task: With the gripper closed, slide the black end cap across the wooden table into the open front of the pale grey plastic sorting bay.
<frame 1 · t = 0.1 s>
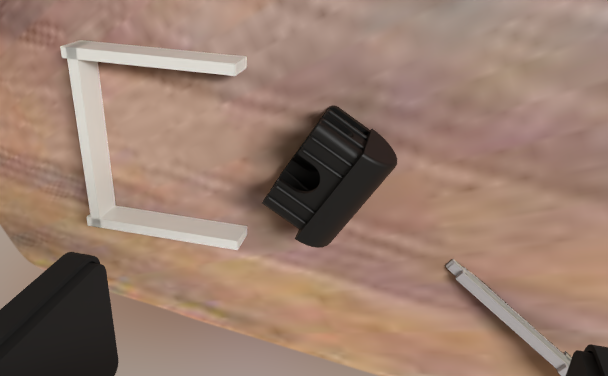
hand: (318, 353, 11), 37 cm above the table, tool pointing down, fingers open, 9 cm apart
sorting bay: (172, 142, 52), on the table
caliper: (530, 321, 52), on the table
end cap: (336, 162, 49), on the table
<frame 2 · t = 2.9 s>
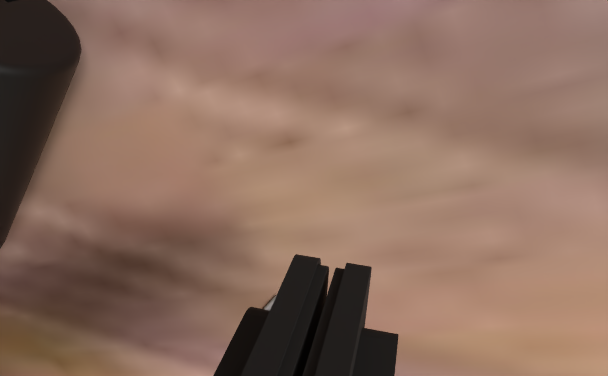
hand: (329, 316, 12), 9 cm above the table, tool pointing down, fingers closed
end cap: (11, 89, 22), on the table
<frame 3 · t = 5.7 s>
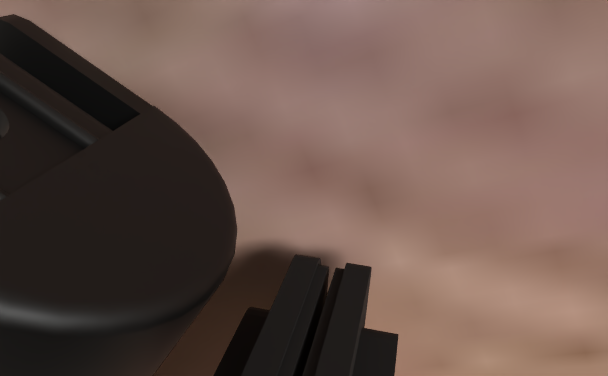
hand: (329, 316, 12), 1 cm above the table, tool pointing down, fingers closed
end cap: (81, 230, 14), on the table, touching gripper
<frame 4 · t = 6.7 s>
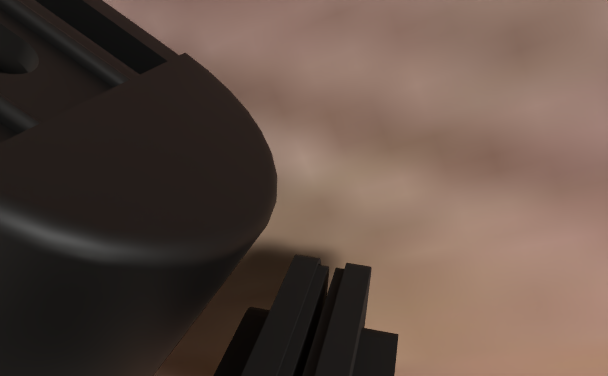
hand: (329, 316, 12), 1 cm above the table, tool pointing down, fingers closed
end cap: (101, 194, 14), on the table, touching gripper
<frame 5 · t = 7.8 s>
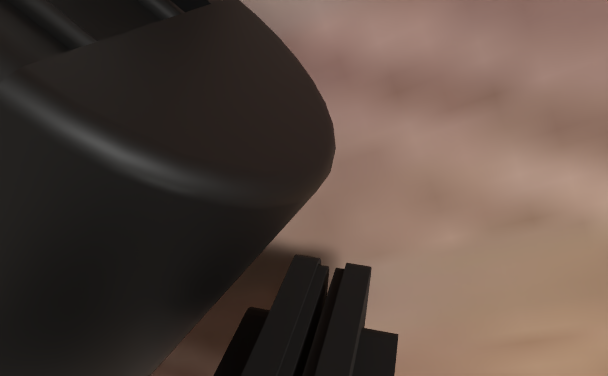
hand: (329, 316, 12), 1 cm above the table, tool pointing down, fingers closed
end cap: (125, 150, 13), on the table, touching gripper, sorting bay
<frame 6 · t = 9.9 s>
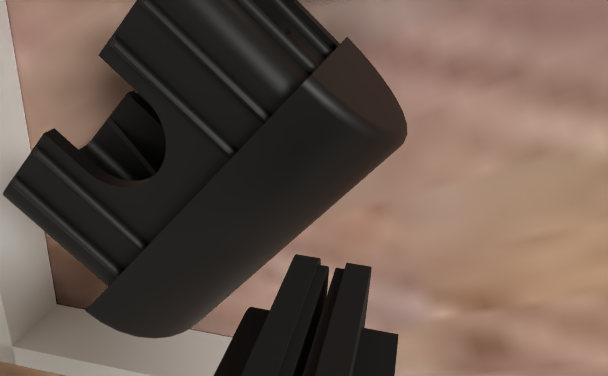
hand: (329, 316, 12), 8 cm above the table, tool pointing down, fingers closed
sorting bay: (191, 164, 21), on the table
end cap: (247, 122, 20), on the table
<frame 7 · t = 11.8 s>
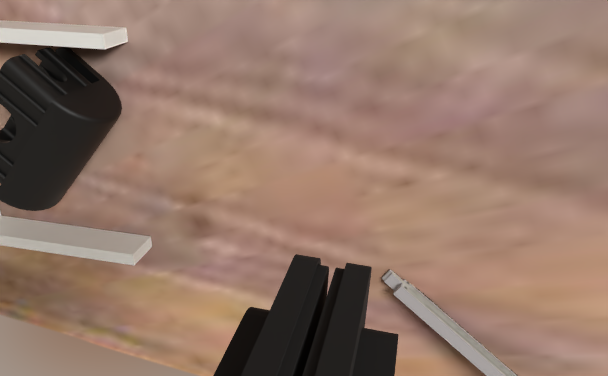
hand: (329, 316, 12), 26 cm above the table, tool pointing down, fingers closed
sorting bay: (55, 138, 43), on the table
caliper: (488, 343, 43), on the table
end cap: (77, 116, 43), on the table
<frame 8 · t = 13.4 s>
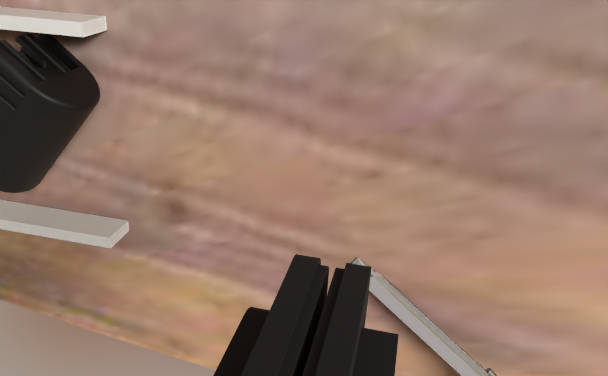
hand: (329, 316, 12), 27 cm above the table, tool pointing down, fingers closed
sorting bay: (35, 122, 44), on the table
caliper: (450, 331, 45), on the table
end cap: (57, 101, 43), on the table
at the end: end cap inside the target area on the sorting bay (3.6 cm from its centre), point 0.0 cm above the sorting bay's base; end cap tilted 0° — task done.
